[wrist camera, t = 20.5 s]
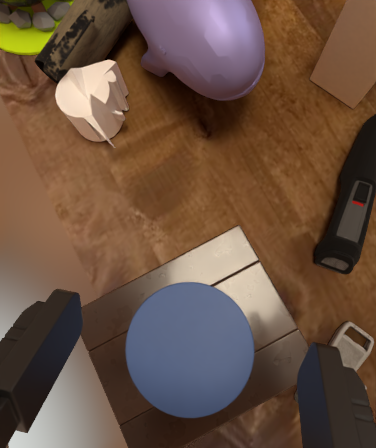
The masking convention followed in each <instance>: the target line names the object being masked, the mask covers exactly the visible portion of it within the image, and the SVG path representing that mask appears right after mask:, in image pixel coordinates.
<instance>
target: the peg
mask: <svg viewBox="0 0 376 448" xmlns="http://www.w3.org/2000/svg"><path fill="white" fill-rule="evenodd" d="M125 353H126V362H127V366H128V370H129V373H130V376H131V378H132V380H133V382H134V384H135V386H136V388H137V389H138V390H139V392H140V393H141V394H142V396H143V397H144V398H145V399H146V400H147V401H148V402H149V403H151V404H152V405H153V406H155V407H156V408H158V409H159V410H161V411H163V412H165V413H167V414H170V415H173V416H176V417H182V418H199V417H204V416H208V415H211V414H214V413H216V412H218V411H220V410H222V409H223V408H225V407H227V406H228V405H229V404H230V403H231V402H233V401H234V400H235V399H236V398H237V396H238V395H239V394H240V393H241V391H242V390H243V388H244V387H245V385H246V383H247V381H248V379H249V377H250V374H251V371H252V367H253V362H254V340H253V334H252V331H251V328H250V325H249V322H248V320H247V318H246V316H245V315H244V313H243V311H242V310H241V309H240V307H239V306H238V305H237V303H236V302H235V301H234V300H232V299H231V298H230V297H229V296H228V295H226V294H225V293H224V292H222V291H220V290H219V289H217V288H215V287H212V286H210V285H206V284H203V283H197V282H182V283H176V284H172V285H169V286H166V287H164V288H162V289H160V290H158V291H156V292H155V293H153V294H152V295H151V296H150V297H148V298H147V299H146V300H145V301H144V302H143V303H142V304H141V306H140V307H139V308H138V310H137V311H136V313H135V315H134V316H133V318H132V321H131V323H130V325H129V329H128V332H127V337H126V348H125Z"/></svg>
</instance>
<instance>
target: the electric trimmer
mask: <svg viewBox="0 0 376 448" xmlns="http://www.w3.org/2000/svg"><path fill="white" fill-rule="evenodd" d="M339 179H340V183H341V192H340V195H339V198H338V201H337V204H336V207H335V210H334V213H333V217H332V220H331V223H330V225H329V228H328V231H327V233H326V236H325V238H324V239H323V240H322V241H321V242H320V244H319V245H318V246H317V248H316V250H315V253H314V255H315V257H316V259H315V263H316V264H317V265H319V266H322V267H325V268H327V269H329V270H333V271H336V272H338V273H342V274H349V273H350V272H352V270H353V267H354V266H355V265H356V264H357V262H358V261H359V259H360V255H361V251H362V247H363V243H364V240H365V236H366V232H367V228H368V223H369V219H370V214H371V210H372V206H373V201H374V197H375V194H376V114H375V115H374V116H372V117H371V118H370V119H368V120H367V121H366V122H365V123H364V125H363V127H362V129H361V131H360V133H359V135H358V137H357V139H356V141H355V143H354V145H353V148H352V150H351V152H350V154H349V156H348V158H347V161H346V163H345V165H344V167H343V170H342V172H341V175H340V178H339Z"/></svg>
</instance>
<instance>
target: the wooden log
mask: <svg viewBox="0 0 376 448" xmlns="http://www.w3.org/2000/svg"><path fill="white" fill-rule="evenodd" d="M132 19H133V16H132V14H131V11H130V9H129V6H128V3H127V0H74V2H73V3H72V5H71V6H70V8H69V9H68V11H67V13H66V14H65V16H64V17H63V19H62V20H61V22H60V23H59V25H58V26H57V28H56V29H55V31H54V32H53V34H52V35H51V37H50V38H49V40H48V42H47V43H46V44H45V46H44V47H43V49H42V50H41V52H40V53H39V55H38V56H37V57H36V59H35V63H36V64H37V66H38V67H39V68H40V69H41V70H42V71H43V72H44V73H45V74H46V75H47V76H48V77H50V78H51V79H52V80H53V81H54V82H56V83H57V84H59V82H60V80H61V79H62V78H63V77H64V76H65V75H66V74H67V72H68V71H69V70H70V69H71V68H82V67H86V66H89V65H92V64H95V63H99V62H102V61H103V60H104V59H105V58H106V56H107V55H108V53H109V52H110V51H111V49H112V48H113V46H114V45H115V43H116V42H117V41H118V39H119V38H120V36H121V35H122V34H123V32H124V31H125V29H126V28H127V26H128V25H129V23H130V22H131V20H132Z"/></svg>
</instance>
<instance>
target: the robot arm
mask: <svg viewBox="0 0 376 448" xmlns="http://www.w3.org/2000/svg"><path fill="white" fill-rule="evenodd" d="M82 327H83V317H82V310H81V302H80V296H79V294H78V293H76V292H71V291H66V290H61V289H56V290H54V291H53V292H52V294H51V295H50V296H49V298H48V299H47V301H46V302H41V301H37V302H36V303H34V304H33V305H31V306H30V307H29V308H27V309H26V310H25V311H23V312H22V314H21V315H20V316H19V318H18V319H17V320H16V322H15V323H14V324H13V327H11V328H10V330H9V331H8V332H7V333H6V335H5V337H4V338H2V340H1V341H0V448H9V446H8V443H9V441H10V439H11V437H12V436H13V434H14V432H15V430H17V431H21V432H25V433H28V431H29V429H30V427H31V425H32V423H33V422H34V420H35V418H36V416H37V414H38V412H39V411H40V409H41V407H42V405H43V403H44V401H45V400H46V398H47V396H48V394H49V392H50V390H51V389H52V387H53V385H54V383H55V381H56V379H57V377H58V376H59V374H60V372H61V370H62V368H63V366H64V365H65V363H66V361H67V359H68V357H69V355H70V353H71V352H72V350H73V348H74V346H75V344H76V342H77V340H78V339H79V336H80V334H81V331H82ZM297 391H298V401H299V412H300V422H301V433H302V443H303V448H376V425H375V422H373V419H374V418H373V414H372V411H371V407H369V404H370V403H369V400H368V396H367V392H366V389H365V385H364V384H363V382H362V381H361V379H360V377H359V376H358V374H357V373H356V371H355V370H354V368H350V367H345V366H343V363H342V358H341V354H340V351H339V349H338V348H337V347H335V346H330V345H325V344H320V343H315V342H313V343H312V344H311V345H310V347H309V349H308V351H307V353H306V356H305V358H304V360H303V362H302V364H301V366H300V368H299V371H298V377H297Z"/></svg>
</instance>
